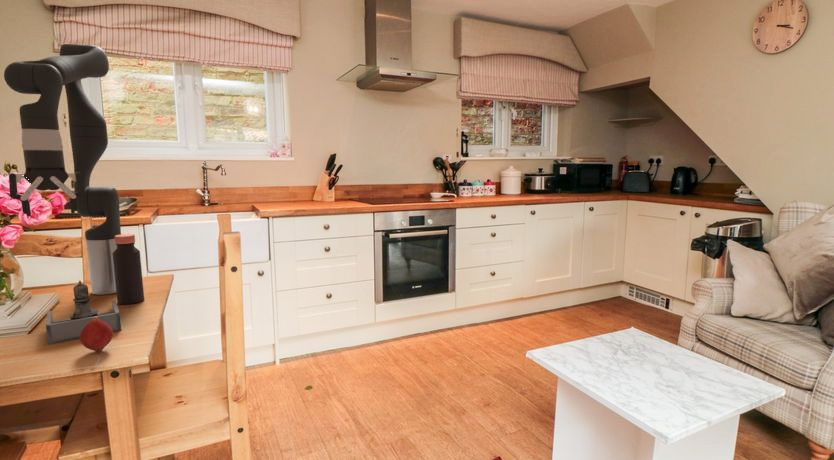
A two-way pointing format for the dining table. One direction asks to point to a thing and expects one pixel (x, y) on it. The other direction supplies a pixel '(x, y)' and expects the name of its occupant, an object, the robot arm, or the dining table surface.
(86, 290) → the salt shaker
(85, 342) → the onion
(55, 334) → the box
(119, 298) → the bottle
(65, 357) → the dining table surface
